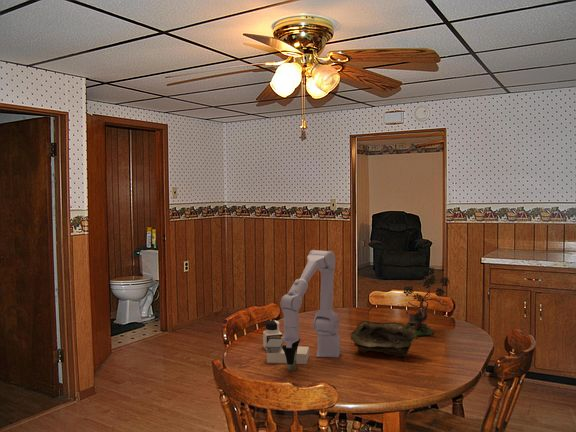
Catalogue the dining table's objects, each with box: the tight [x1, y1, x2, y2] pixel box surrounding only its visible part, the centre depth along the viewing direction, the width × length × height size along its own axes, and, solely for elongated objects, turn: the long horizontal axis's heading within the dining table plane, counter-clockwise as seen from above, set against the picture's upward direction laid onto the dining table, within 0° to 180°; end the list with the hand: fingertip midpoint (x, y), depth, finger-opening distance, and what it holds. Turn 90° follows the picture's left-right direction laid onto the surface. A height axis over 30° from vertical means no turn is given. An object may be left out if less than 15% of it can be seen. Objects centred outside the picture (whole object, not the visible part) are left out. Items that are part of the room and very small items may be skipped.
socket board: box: [264, 339, 310, 365], centre depth 207 cm, size 16×11×7 cm, turn 82°
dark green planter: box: [350, 320, 418, 358], centre depth 214 cm, size 28×13×15 cm
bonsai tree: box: [403, 266, 451, 337], centre depth 248 cm, size 35×24×32 cm
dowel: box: [286, 352, 297, 372], centre depth 195 cm, size 4×4×8 cm
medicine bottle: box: [262, 319, 283, 352], centre depth 223 cm, size 7×7×12 cm
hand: (291, 361), depth 195 cm, fingers open, 7 cm apart
